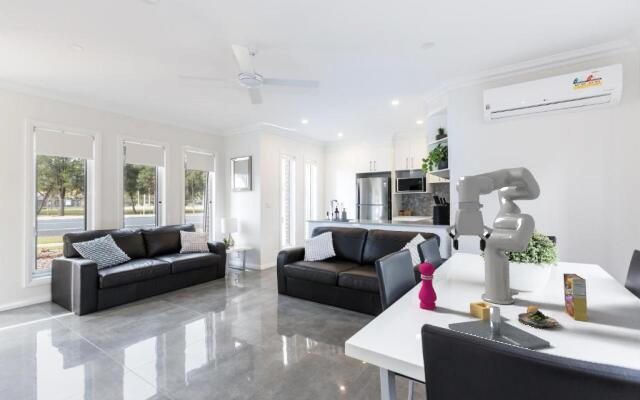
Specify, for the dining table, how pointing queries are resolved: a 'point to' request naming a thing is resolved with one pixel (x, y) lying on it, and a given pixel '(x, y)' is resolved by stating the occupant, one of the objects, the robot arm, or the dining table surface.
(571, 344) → the dining table surface
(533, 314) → the plate of food
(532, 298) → the dining table surface
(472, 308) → the yellow socket block
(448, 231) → the robot arm
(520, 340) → the hub plate
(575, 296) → the candy box
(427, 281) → the pepper mill
